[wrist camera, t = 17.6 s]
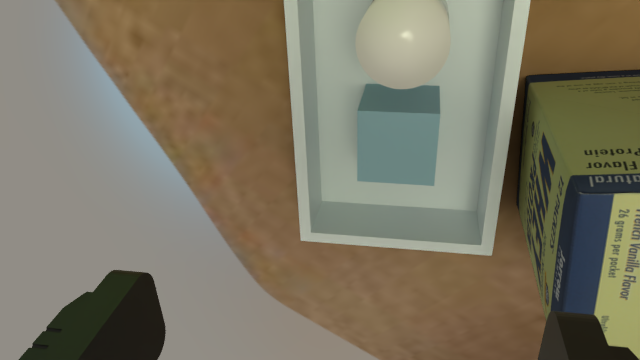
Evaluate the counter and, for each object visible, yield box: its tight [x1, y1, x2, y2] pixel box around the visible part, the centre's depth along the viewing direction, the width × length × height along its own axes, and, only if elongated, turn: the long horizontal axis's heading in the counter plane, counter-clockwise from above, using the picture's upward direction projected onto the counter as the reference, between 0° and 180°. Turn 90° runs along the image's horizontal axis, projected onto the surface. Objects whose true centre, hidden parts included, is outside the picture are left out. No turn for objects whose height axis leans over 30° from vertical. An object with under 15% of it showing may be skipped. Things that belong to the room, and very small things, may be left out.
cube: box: [357, 84, 440, 186], centre depth 35 cm, size 5×5×5 cm
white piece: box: [355, 0, 451, 89], centre depth 31 cm, size 5×5×7 cm
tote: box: [284, 0, 531, 256], centre depth 35 cm, size 20×14×5 cm
